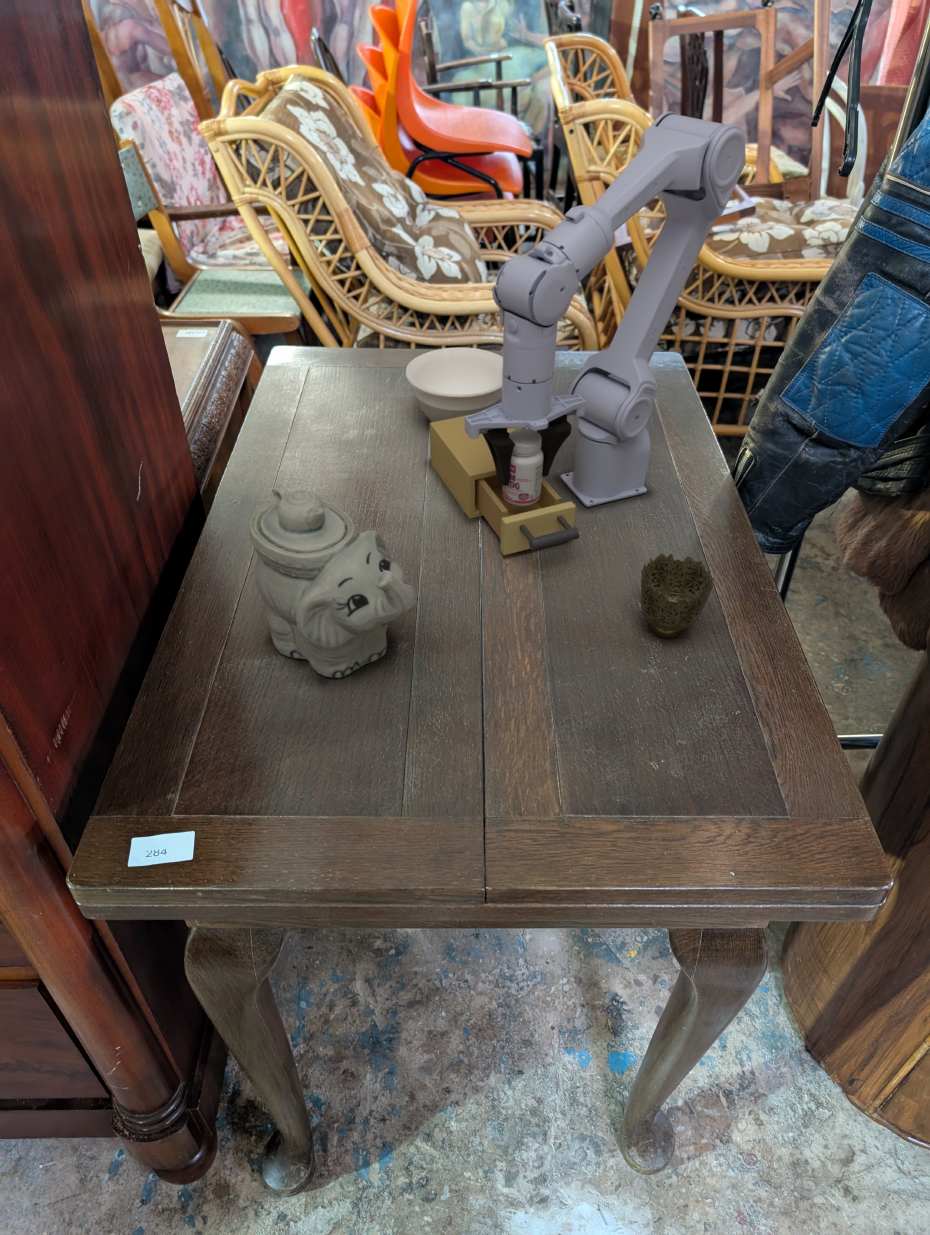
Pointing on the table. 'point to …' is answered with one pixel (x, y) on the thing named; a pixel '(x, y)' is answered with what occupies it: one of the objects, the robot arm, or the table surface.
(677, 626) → the cup
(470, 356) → the bowl
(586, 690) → the table surface
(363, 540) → the grey elephant cookie jar
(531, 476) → the pill bottle
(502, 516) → the drawer
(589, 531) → the table surface
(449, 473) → the cabinet
